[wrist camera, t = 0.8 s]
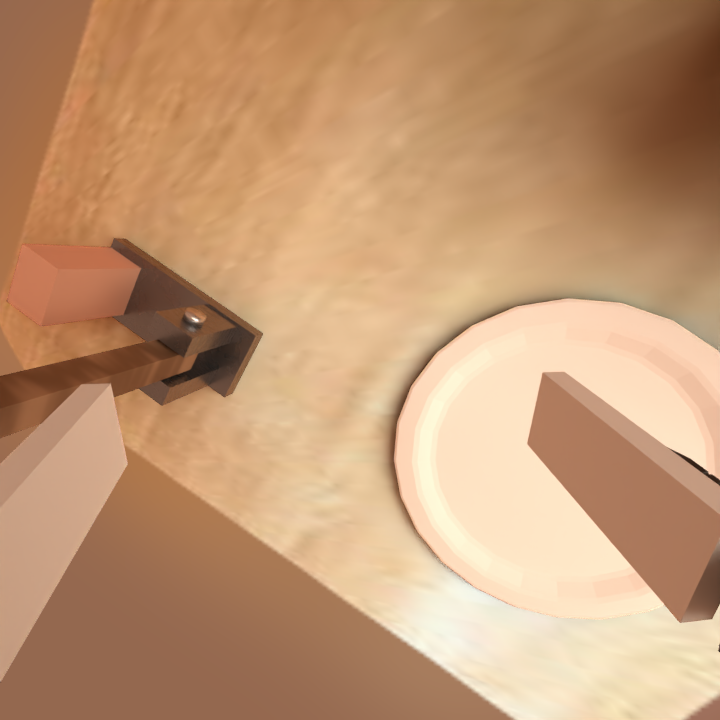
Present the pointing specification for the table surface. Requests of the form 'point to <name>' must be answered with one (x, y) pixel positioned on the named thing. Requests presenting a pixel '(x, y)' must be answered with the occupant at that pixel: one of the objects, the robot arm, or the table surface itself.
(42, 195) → the table surface
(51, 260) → the stop block
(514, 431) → the plate
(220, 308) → the press base
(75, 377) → the lever
